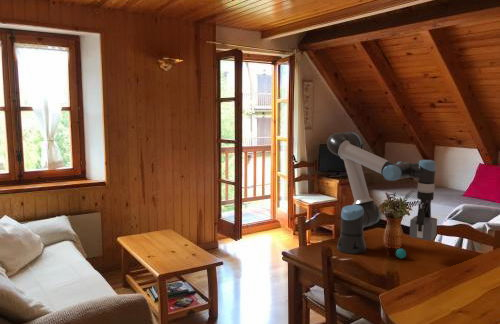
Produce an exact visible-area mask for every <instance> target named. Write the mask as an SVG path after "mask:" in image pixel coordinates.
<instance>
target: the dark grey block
mask: <svg viewBox="0 0 500 324" xmlns="http://www.w3.org/2000/svg"><path fill="white" fill-rule="evenodd" d="M409 222H410V223H409V238H413V239H418V240H419V239H420V240H424V241H430V242H432V241H433V240H434V238H436V236H437V229H438V228H437V227H438V218H435V217H434V218H433V217H431V218H429V217H424V222H423V225H424V228H423V238H419V237H417V225H418V224H416V222H417V215H415V216H414V217H412V218H411V219H410V221H409Z"/></svg>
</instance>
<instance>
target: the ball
mask: <svg viewBox="0 0 500 324" xmlns="http://www.w3.org/2000/svg"><path fill="white" fill-rule="evenodd" d="M395 256H396V257H397V258H399V259H404V258H405V257H406V256H407V251H406V250H405V249H404V248H397V249H396V251H395Z"/></svg>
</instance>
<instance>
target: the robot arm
mask: <svg viewBox="0 0 500 324" xmlns="http://www.w3.org/2000/svg"><path fill="white" fill-rule="evenodd" d="M362 145H363V144H362V139H361V137H360V135H358V134H357V133H356V132H351V131H346V132H335V133H333V134H331V135H329V137H328V139H327V141H326V146H327V148H328V150H329V151H330V152H331V153H332V154H333V155H335V156H337V157H340V159H341V160H343V162H344V167H345V170H346V174H347V177H348V182H349V185H350V189H351V192H352V193H351V194H352V196H353V203H352V204H349V205H345V206H343V207H342V209H341V214H340V236H339V238H338V242H337V248H336V249H337V250H338V251H340V252H342V253H345V254H351V255H352V254H353V255H355V254H356V255H357V254H363V253H365V252H366V251H367V245H366V242H365V239H364V228H367V227H369V226H373V225H376V224H377V223H378V222H379V221H380V219H381V217H382V215H381V212H382V211H380V212H379V210H378V207H379V206H378V205H377V204H376V203H375V201H374V199H373V198H371V197H370V194H369V189H368V186H367V182H366V178H365V175H364V170H363V167H365V168H368V170H369V169H370V170H371V171H374V172H376V173H378V174H380V175H381V176H383V178H384V180H386V181H390V182H391V181H392V182H393V181H397V180H402V179H406V178H409V179H410V178H411V179H412V178H413V179H417V191H416V192H417V193H416V194H417V195H416V199H418V200H420V203H418V205H417V206H418V208H417V209H418V210H417V215H416V216H417V222H416V224H418V225H417V237H419V238H423V228H424V225H423V222H424V217H429V218H432V201H433V200H434V198H435V197H434V196H435V193H434V191H435V188H436V185H435V177H436V172H437V171H436V170H437V169H436V161H434V160H432V159H420V160H419V162H418V163H417V162H416V163H415V162H408V161H397V162H396V163H394V162H392V161H390V160H387V159H385V158H383V157H380V156H379V155H376V154H374V153H372V152H369V151H367V150H365V149H363V148H362ZM362 166H363V167H362Z"/></svg>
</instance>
